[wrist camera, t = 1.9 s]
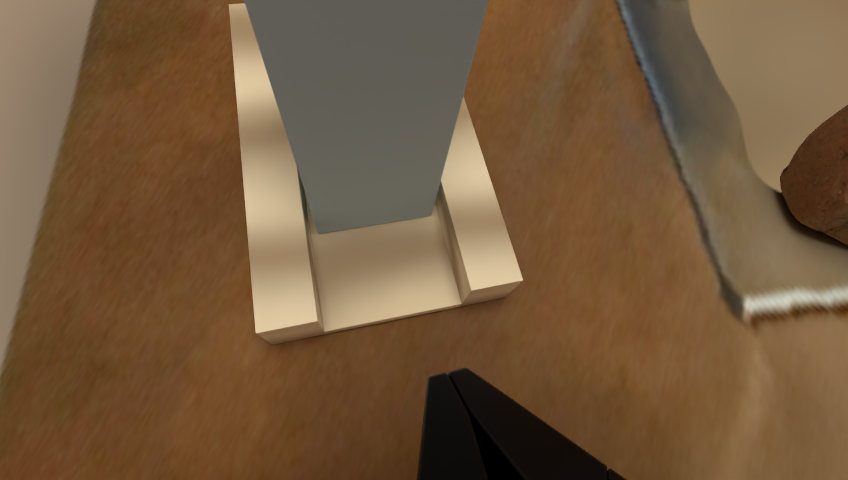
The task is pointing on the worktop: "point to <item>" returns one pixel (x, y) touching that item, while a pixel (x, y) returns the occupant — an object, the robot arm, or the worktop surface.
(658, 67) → the worktop surface
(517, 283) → the chute
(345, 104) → the grey rectangular block
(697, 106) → the worktop surface
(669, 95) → the worktop surface
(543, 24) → the worktop surface
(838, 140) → the sweet potato
